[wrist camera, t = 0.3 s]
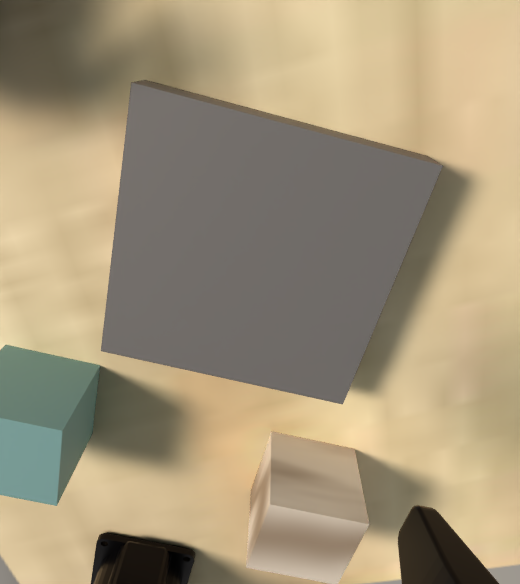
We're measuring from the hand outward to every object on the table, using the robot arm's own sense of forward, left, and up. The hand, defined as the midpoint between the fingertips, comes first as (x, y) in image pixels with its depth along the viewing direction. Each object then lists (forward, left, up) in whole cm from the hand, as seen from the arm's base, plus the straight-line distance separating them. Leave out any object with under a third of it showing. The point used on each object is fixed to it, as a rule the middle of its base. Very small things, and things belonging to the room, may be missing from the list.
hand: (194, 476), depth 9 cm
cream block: (-13, -7, -14) cm, 21 cm away
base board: (0, -1, -14) cm, 14 cm away
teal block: (-11, +8, -14) cm, 20 cm away
